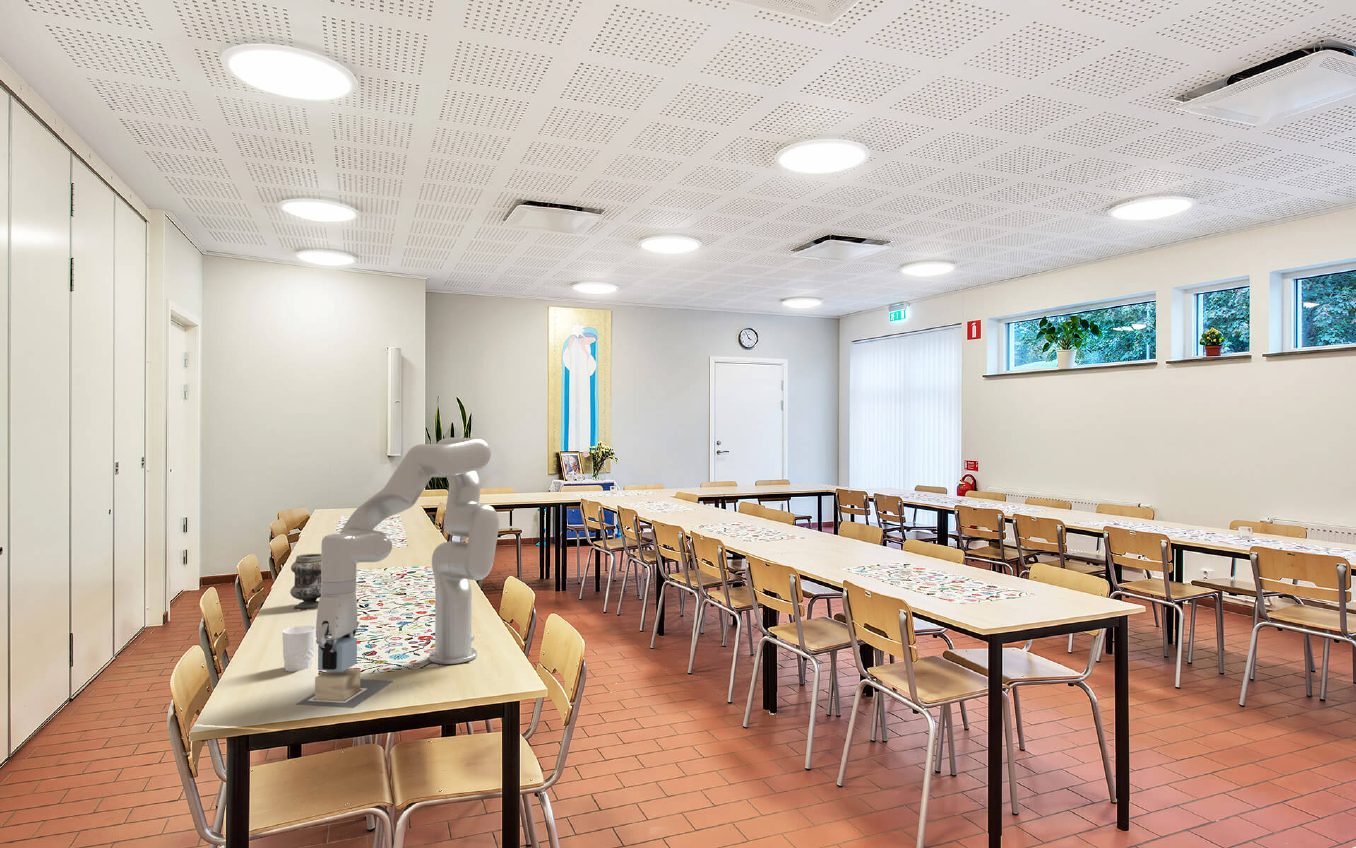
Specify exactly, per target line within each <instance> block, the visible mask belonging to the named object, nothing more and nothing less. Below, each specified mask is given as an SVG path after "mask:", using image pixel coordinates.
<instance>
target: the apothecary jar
mask: <svg viewBox="0 0 1356 848" xmlns="http://www.w3.org/2000/svg"><path fill="white" fill-rule="evenodd" d="M290 570H291V571H292V572H293V574H294V584H293V586H292V587H291V589H290V591H289V592H290V595H291V596H292V598H294V599H296V600H301V601H302V602H299V603H297V604H295V605H294V607H293V609H294V610H297V609H300V610H299V611H307V609H310V610H315V609H317V610H318V604H319V600H318V599H320V596H322V595H321V553H304V554H303V553H302V554H299V555H296V558H295V561H294V562H293V563H292V564H291V565H290Z"/></svg>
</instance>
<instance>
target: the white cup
mask: <svg viewBox="0 0 1356 848" xmlns="http://www.w3.org/2000/svg"><path fill="white" fill-rule="evenodd" d="M281 632H282V651H283V655H282V657H283V663H284V664H283V665H284V667H283V668H284V671H286V672H290V673H291V672H292V673H293V672H298V671H303V670H306V669H309V668H311V667H313V666H314V665H315V664H314V663H315V662H314V661H315V653H316V639H317V638H316V626H313V625H298V626H296V625H295V626H292V627H288V628H285V629H283V630H282V631H281Z"/></svg>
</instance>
